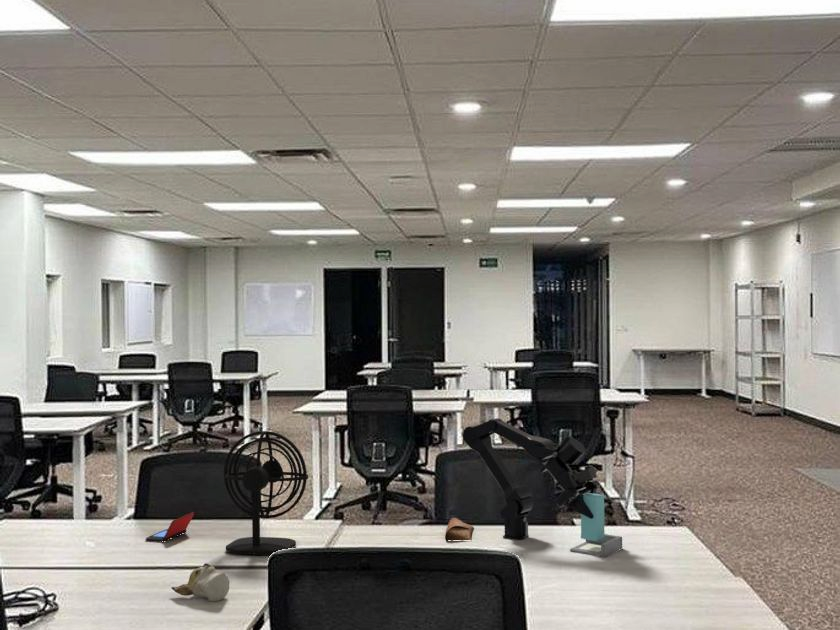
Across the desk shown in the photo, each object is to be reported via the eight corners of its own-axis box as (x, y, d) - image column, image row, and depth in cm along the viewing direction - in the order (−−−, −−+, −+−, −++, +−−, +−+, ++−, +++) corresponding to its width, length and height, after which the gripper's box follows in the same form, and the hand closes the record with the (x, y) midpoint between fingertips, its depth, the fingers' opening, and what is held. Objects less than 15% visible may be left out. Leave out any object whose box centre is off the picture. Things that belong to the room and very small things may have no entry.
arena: (570, 551, 250) (569, 539, 250) (587, 542, 258) (587, 531, 258) (605, 557, 243) (604, 544, 243) (622, 548, 252) (622, 536, 252)
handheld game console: (167, 532, 281) (166, 509, 281) (195, 534, 278) (195, 511, 278) (143, 541, 269) (143, 518, 269) (173, 544, 266) (173, 520, 266)
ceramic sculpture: (206, 571, 205) (168, 565, 214) (208, 608, 205) (169, 600, 214) (240, 561, 213) (202, 555, 222) (242, 596, 213) (203, 589, 222)
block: (581, 538, 250) (580, 495, 250) (589, 534, 254) (588, 492, 254) (596, 541, 247) (596, 497, 247) (604, 537, 251) (604, 495, 251)
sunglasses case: (472, 541, 262) (461, 522, 262) (453, 552, 263) (441, 534, 263) (474, 527, 280) (463, 509, 280) (456, 538, 280) (445, 520, 281)
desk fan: (315, 542, 264) (313, 429, 264) (295, 557, 247) (293, 437, 247) (233, 539, 270) (231, 428, 270) (208, 554, 253) (207, 435, 253)
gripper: (564, 461, 246) (599, 504, 239) (594, 453, 260) (628, 493, 254) (540, 485, 251) (575, 528, 244) (571, 476, 265) (604, 516, 258)
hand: (596, 516), depth 250 cm, fingers closed on block, 5 cm apart
